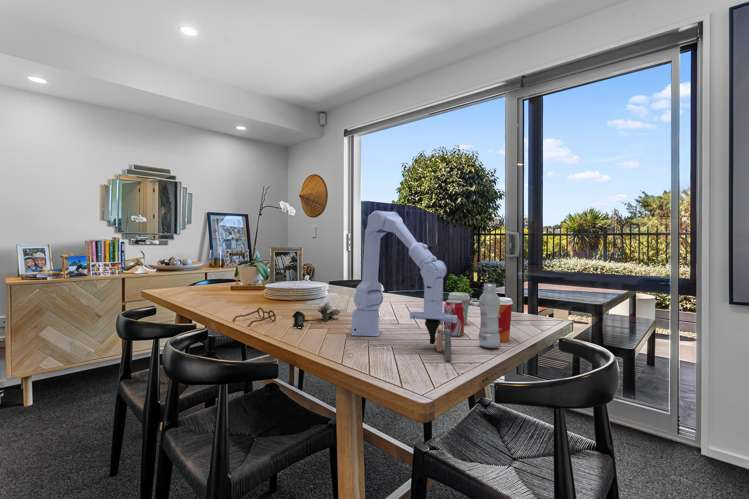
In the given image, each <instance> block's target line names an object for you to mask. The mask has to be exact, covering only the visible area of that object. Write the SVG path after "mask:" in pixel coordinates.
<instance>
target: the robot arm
mask: <svg viewBox="0 0 749 499" xmlns="http://www.w3.org/2000/svg"><path fill="white" fill-rule="evenodd" d="M403 221H404V220H403V218H402V217H401V216H400V215H399V213H398V212H396V211H385V210H384V211H383V210H374V211H372V212H371V214H369V215H368V216H367V224H366V228H365V231H364V243H363V262H362V263H363V264H362V278H361V280H362V281H361V282H360V283H359V284H358V285H357V286H356V288H355V289H356V290H355V293H354V295H353V303H354V305H355V308H354V307H353V308H352V311H351V336H361V337H362V336H363V337H379V335H380V334H381V332H382V329H379V325H380V324H379V323H380V322H379V321H380V320H379V316H380V313H379V312H380V310H379V309H380V308H381V305H382V304H383V301H384V295H383V287H382V285H381V284H380V283H379V269H380V268H379V267H380V252H381V251H380V249H381V238H383V236H385V235H386V234H387V233H388V232H389V233H393V234H395V235H396V237H397V238H398V239H399V240H400V241H401V242H402V243H403V244H404V245H405V247H407V248H408V255H409V257H410V258H411V259H412V261H414V263H415V264H416V265H417V266H418V268H419V270H420V271H419V272H420V275H421V277H422V280H423V284H424V285H423V286H424V287H423V291H424V292H423V311H410V312H409V319H410V320H413V319H414V320H415V319H416V320H424V325H425V327H426V329H427V332H428V335H429V345H435V343H436V335H437V329H438V326H439V324H440V322H441V321H443V322H444V321H445V322H453V323H456V322H457V315H449V314H444V312H443V311H444V304H443V301H444V296H443V295H444V278H445V277H446V276H447V272H448V270H447V266H446V264H445V262H444V261H442V260H439V259H438V258H437V257H436V255H434V254H432V252H431V251H430V250H429V249H428V245H427V244H425V243H423V242H418V241H417V239H415V237H414V236H413V234H412V233H411V231H410V230H409V229H408V227H407V226H406V225H405V223H404V222H403Z"/></svg>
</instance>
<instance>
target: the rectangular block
mask: <svg viewBox="0 0 749 499" xmlns="http://www.w3.org/2000/svg"><path fill="white" fill-rule="evenodd" d="M442 328H443V329H444V324H443V325H439V326H438V328H437V331H436V352H443V341H442V334H440V330H441V331H442Z"/></svg>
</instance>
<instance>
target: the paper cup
mask: <svg viewBox="0 0 749 499" xmlns="http://www.w3.org/2000/svg"><path fill="white" fill-rule="evenodd" d="M498 297H499V298H500V308H499V318H498V326H499V335H500V343H508V342H510V334H511V321H512V310H513V309H512V308H513V304H514V302H513V299H512V298H510V297H504V296H503V297H502V296H498Z"/></svg>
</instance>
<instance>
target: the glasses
mask: <svg viewBox="0 0 749 499" xmlns="http://www.w3.org/2000/svg"><path fill="white" fill-rule="evenodd" d="M260 311H261V312H262V315H261V314H260ZM255 313H257V314H258V317H259V318H260V317H262V318H263V319H262V318H260V319H255V320H251V321H250V323H249V324H248V325H247V326H246V327H251V326H252V324H254V323H256V322H262V321H265V320H268V319H269V320H270V321H271V320H272V321H271V322H273V321H275V322H276V320H277V316H276V314H275V312H274V311H273V310H272V309H271V310H268V311H266V310H265V311H264V309H263V308H262V307H258V308H257V309H256V310H254V311H250V312H249V313H246V314H239V315H236V316H235V317H233V319H232V320H231V321H236V320H237V319H238V318H239V317H243V318H245V317H247V316H250V315H253V314H255ZM271 313H272V314H271ZM265 314H267V315H268V316H267V317H265ZM272 318H273V319H272Z"/></svg>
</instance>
